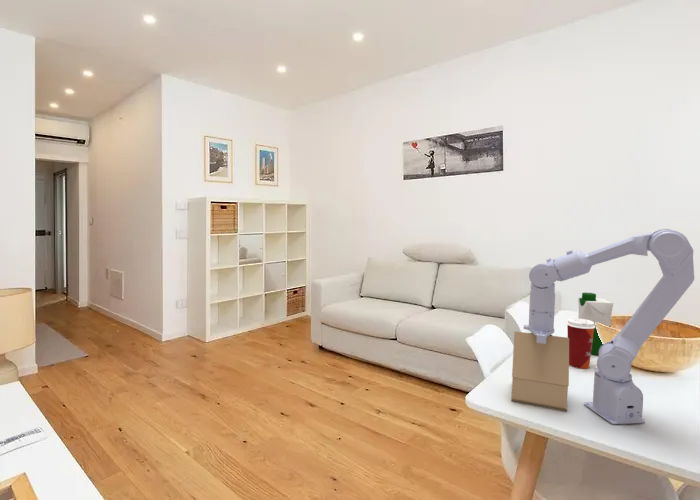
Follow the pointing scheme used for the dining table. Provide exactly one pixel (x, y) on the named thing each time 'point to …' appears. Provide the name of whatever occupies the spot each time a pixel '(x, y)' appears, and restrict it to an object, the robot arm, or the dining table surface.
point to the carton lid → (541, 359)
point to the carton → (539, 393)
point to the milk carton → (595, 315)
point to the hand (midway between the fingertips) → (539, 362)
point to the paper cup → (580, 342)
